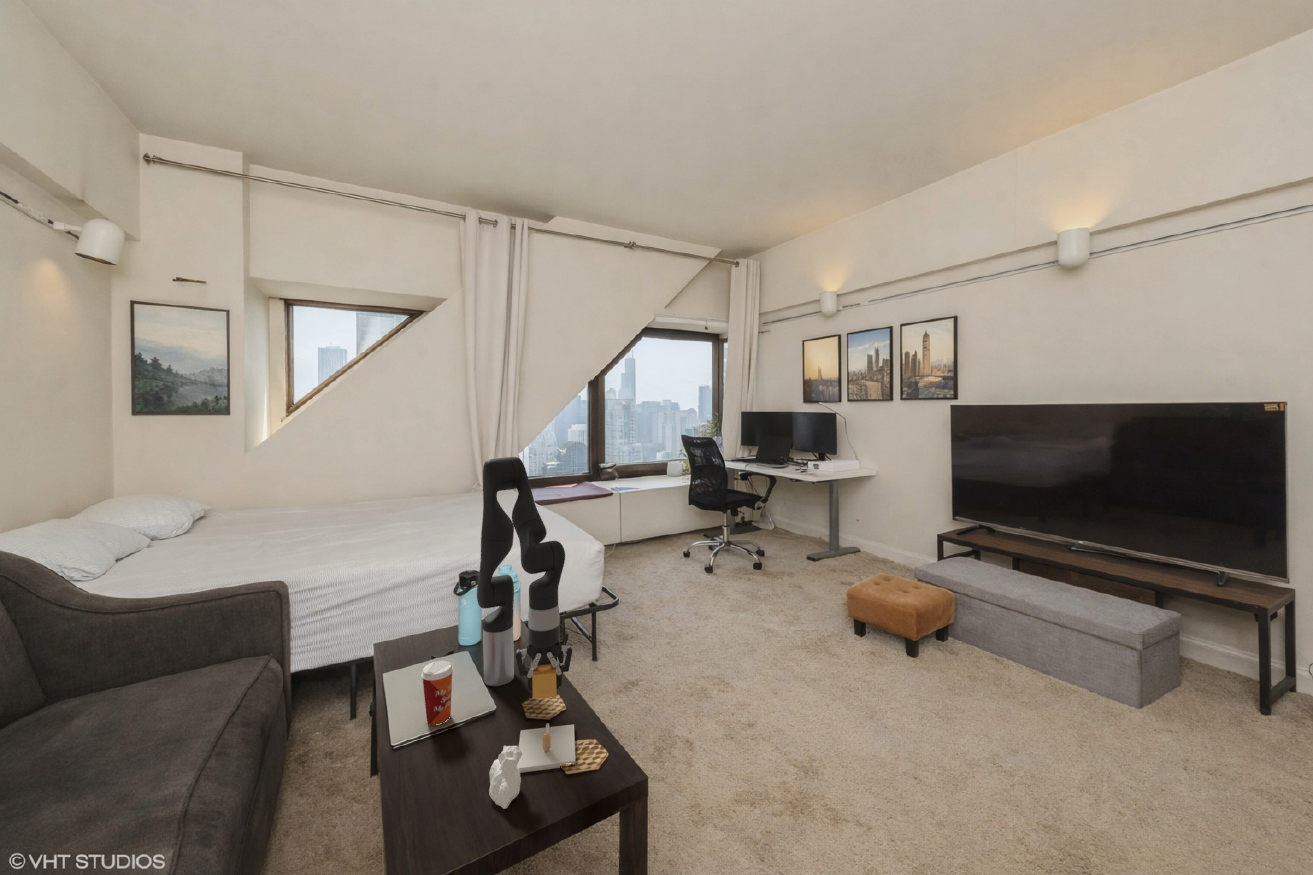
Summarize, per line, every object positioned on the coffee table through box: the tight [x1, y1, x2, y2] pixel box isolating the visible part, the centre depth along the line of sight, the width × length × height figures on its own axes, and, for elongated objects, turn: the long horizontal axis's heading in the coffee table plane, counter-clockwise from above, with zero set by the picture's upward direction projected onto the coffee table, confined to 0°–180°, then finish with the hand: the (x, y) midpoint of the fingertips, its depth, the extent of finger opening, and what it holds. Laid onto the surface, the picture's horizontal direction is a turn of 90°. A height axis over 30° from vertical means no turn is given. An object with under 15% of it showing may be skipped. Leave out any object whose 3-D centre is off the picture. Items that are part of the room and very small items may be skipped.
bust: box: [488, 745, 522, 810], centre depth 113 cm, size 12×8×11 cm
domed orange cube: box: [532, 664, 558, 700], centre depth 123 cm, size 6×6×7 cm
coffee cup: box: [420, 660, 454, 726], centre depth 139 cm, size 8×8×15 cm
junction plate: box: [517, 723, 576, 774], centre depth 127 cm, size 15×14×6 cm
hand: (544, 688), depth 124 cm, fingers closed on domed orange cube, 5 cm apart
